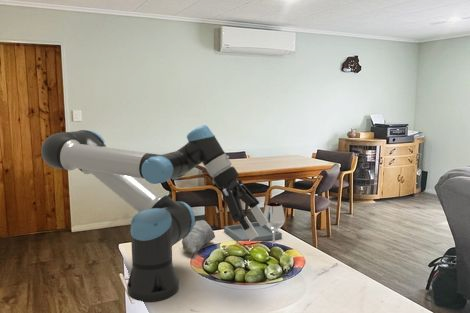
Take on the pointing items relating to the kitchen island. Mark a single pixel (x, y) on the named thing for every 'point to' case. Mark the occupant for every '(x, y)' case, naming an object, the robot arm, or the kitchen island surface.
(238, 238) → the tray
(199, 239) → the grey rock
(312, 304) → the kitchen island surface
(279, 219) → the wineglass
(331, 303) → the kitchen island surface
